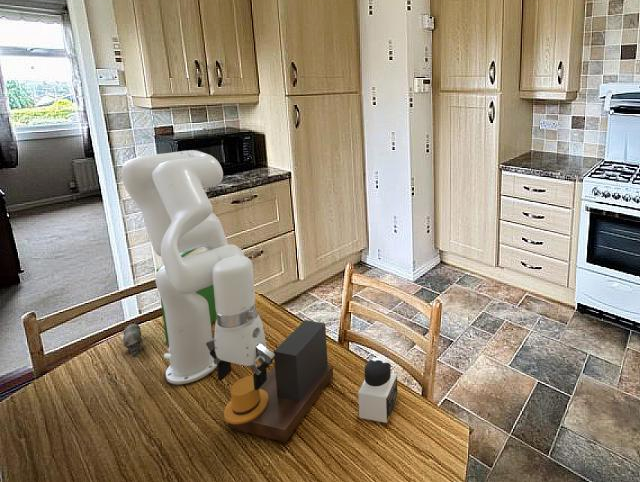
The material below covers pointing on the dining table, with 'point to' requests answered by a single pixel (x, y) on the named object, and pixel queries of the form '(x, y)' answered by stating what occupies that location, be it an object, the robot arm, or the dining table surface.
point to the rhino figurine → (132, 339)
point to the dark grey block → (300, 360)
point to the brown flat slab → (283, 409)
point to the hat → (245, 402)
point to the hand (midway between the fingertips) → (242, 380)
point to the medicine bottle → (378, 391)
